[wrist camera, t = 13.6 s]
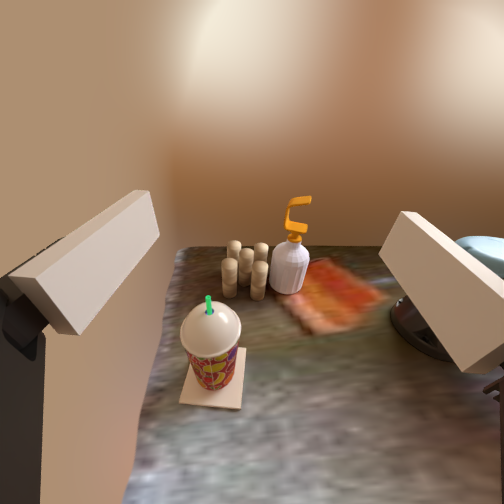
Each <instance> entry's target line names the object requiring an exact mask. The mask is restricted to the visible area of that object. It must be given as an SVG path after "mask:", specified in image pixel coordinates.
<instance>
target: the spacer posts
mask: <svg viewBox="0 0 504 504" xmlns="http://www.w3.org/2000/svg"><path fill="white" fill-rule="evenodd" d="M267 253H268V246H267V245H266V244H264V243H257V244H255V245H254V251H253V250H251V249H249V248H244V249H241V243H240V242H238V241H229V242H228V243H227V258H226V259H224V260H223V261H222V286H223V296H224V297H226V298H234V297H235V296H236V295H237V277H238V276H239V284H240V285H241V286H244V287H247V286H249V285H251V289H250V297H251V299H253V300H255V301H260V300H262V299H263V298H264V293H265V286H266V278H267V271H268V264H267V263H266V261H267Z"/></svg>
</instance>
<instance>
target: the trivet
mask: <svg viewBox="0 0 504 504" xmlns="http://www.w3.org/2000/svg"><path fill="white" fill-rule="evenodd" d="M245 357H246V348H239V347H238V350H237V357H236V364H235V371H234V375H233V378H232V380H231V381H230V382H229V384H228V385H227V386H225V387H224V388H222V389H219V390H216V391H211V390H207V389H204V388H202V386H201V385H200V384H199V383H198V381H197V379H196V376H195V374H194V371H193V369H192V366H191V363H190V366H189V369H188V373H187V376H186V380H185V383H184V386H183V390H182V393H181V396H180V400H179V404H189V405H199V406H209V407H219V408H229V409H239V410H241V400H242V389H243V378H244V367H245Z"/></svg>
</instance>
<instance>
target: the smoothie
mask: <svg viewBox="0 0 504 504" xmlns="http://www.w3.org/2000/svg"><path fill="white" fill-rule="evenodd" d="M205 298H206V302H204V303H202V304H199V305H198V306H196V307H195V308H194V309H192V311H191V312H190V313H189V314H188V316H187V317H186V318H185V320H184V321H183V323H182V326H181V328H180V339H181V342H182V344H183V347H184V348H185V351H186V353H187V356H188V358H189V361H190V363H191V366H192V369H193V371H194V374H195V376H196V379H197V381H198V383H199V384H200V385H201V386H202V388H204V389H207V390H211V391H216V390H219V389H222V388H224V387H225V386H227V385H228V384H229V382H230V381H231V380H232V378H233V375H234V371H235V364H236V357H237V350H238V344H239V337H240V332H241V323H240V319H239V317H238V316H237V314H236V313H235V312H234V311H233V310H232V309H231V308H229V307H228V306H227V305H225V304H223V303H220V302H217V301H211V296H209V295H207V296H206V297H205Z"/></svg>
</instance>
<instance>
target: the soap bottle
mask: <svg viewBox="0 0 504 504" xmlns="http://www.w3.org/2000/svg"><path fill="white" fill-rule="evenodd" d="M310 202H311V196H304V197H296V198H293V199H291V200H290V202H289V204H288V207H287V209H286V214H285V219H284V229H285V230H287V231H290V232H291V233H292V234H289V235H288V238H287V242H283V243H281V244H279V245H277V246H276V248H275V249H274V250H273V255H272V262H271V269H270V276H269V283H270V285H271V287H272V288H273V289H274V290H275V291H277V292H279V293H282V294H294V293H296V292H298V291H299V290H300V289H301V287H302V284H303V280H304V277H305V273H306V270H307V266H308V262H309V254H308V251H307V250H306V249H305V248H304V247H303V246H302V245H300V244H301V240H302V238H301V236H299V234H305V233H306V231H307V225H306V224H302V223H298V222H292V221H290V220H289V218H288V215H289V210H290V207H293V206H300V205H308V204H310Z"/></svg>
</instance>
